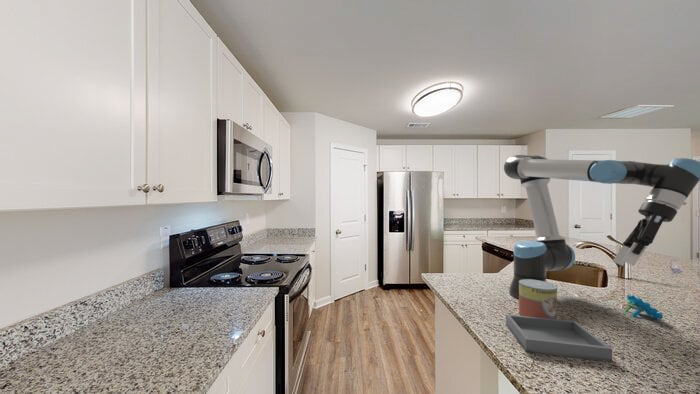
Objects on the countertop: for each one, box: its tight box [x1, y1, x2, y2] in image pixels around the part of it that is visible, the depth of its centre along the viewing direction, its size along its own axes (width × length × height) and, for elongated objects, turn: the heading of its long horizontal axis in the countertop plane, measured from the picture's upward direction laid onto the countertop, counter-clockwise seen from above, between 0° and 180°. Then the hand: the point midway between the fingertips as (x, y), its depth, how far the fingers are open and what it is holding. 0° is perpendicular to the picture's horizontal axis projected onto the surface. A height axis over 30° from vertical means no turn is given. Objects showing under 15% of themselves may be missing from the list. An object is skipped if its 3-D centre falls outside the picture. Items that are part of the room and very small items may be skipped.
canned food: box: [518, 279, 558, 319], centre depth 94 cm, size 11×11×12 cm
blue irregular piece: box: [624, 294, 664, 320], centre depth 96 cm, size 11×6×10 cm
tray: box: [505, 313, 613, 363], centre depth 79 cm, size 16×20×4 cm
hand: (622, 263), depth 85 cm, fingers open, 13 cm apart
